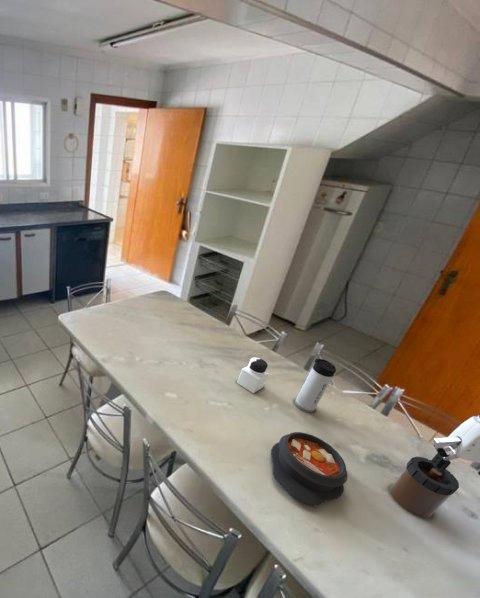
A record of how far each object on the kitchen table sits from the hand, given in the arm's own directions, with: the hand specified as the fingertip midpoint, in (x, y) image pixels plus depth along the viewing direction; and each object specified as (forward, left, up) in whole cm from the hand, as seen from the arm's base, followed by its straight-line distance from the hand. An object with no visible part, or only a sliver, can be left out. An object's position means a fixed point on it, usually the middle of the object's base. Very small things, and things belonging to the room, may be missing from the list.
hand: (459, 473), depth 80 cm
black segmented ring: (0, -4, -8) cm, 9 cm away
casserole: (+27, -4, -18) cm, 33 cm away
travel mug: (+18, -35, -18) cm, 43 cm away
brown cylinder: (0, -4, -18) cm, 18 cm away
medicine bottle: (+36, -40, -18) cm, 57 cm away
